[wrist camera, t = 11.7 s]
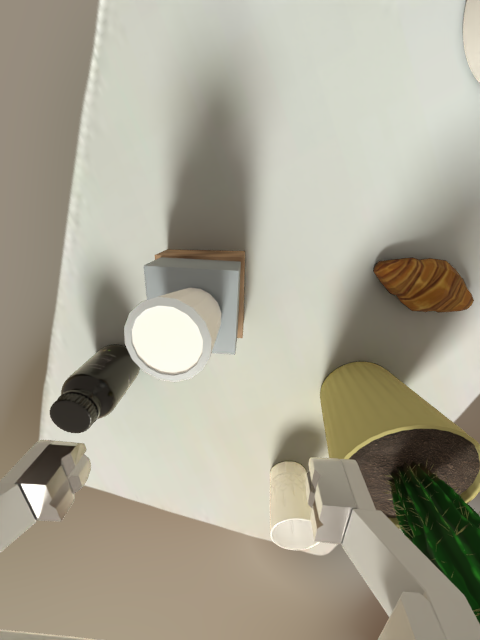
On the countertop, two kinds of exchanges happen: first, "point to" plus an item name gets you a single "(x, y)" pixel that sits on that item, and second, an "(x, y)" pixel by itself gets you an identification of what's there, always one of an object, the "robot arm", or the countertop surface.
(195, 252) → the bottom block
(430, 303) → the croissant
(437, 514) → the potted cactus
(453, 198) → the countertop surface
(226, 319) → the top block
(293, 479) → the white cup
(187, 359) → the white piece
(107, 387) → the supplement bottle
